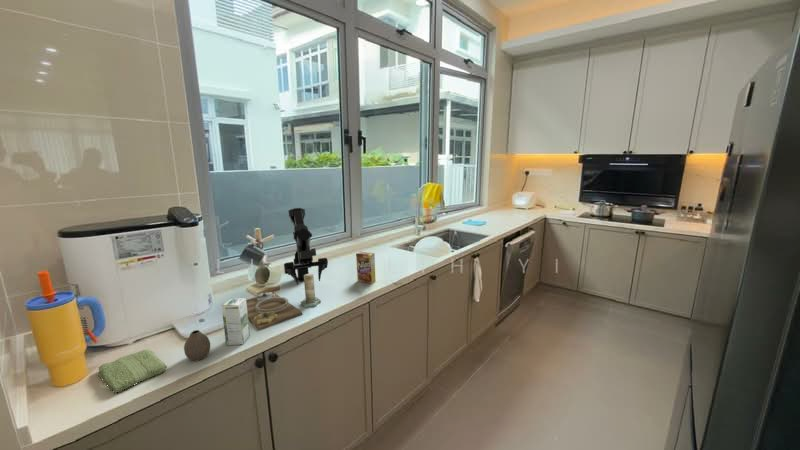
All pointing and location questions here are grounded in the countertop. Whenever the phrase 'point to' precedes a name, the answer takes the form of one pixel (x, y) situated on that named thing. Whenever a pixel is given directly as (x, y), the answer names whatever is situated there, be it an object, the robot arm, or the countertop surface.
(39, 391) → the countertop surface
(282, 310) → the gear board
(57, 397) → the countertop surface
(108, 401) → the countertop surface
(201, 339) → the vase
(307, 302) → the gear
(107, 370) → the washcloth
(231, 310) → the syrup box
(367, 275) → the candy box
